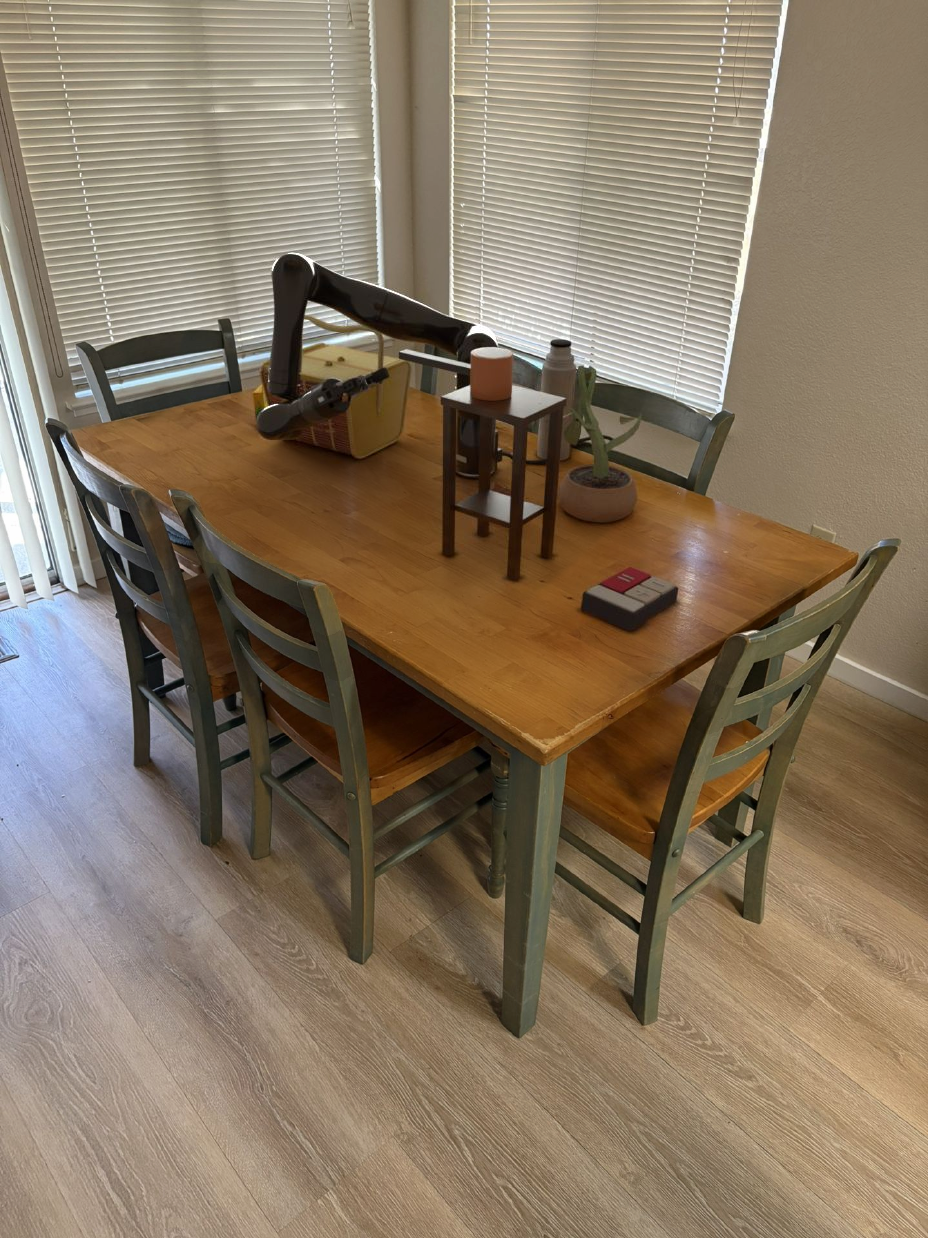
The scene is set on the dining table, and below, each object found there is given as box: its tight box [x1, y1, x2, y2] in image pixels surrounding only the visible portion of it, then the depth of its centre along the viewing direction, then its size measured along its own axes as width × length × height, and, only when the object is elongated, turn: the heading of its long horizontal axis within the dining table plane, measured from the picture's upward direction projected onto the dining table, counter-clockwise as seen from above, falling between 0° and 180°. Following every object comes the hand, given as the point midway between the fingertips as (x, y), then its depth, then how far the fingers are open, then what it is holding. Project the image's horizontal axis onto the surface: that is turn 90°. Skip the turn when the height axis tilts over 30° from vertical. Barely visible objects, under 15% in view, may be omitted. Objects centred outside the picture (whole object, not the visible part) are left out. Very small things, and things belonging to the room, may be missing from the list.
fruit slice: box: [490, 480, 511, 497], centre depth 203 cm, size 8×7×5 cm
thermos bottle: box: [536, 338, 577, 461], centre depth 224 cm, size 8×8×28 cm
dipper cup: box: [398, 347, 514, 401], centre depth 172 cm, size 25×8×8 cm, turn 53°
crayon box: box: [252, 383, 268, 421], centre depth 243 cm, size 7×3×12 cm, turn 172°
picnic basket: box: [258, 314, 413, 460], centre depth 229 cm, size 29×26×30 cm
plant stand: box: [440, 384, 567, 582], centre depth 176 cm, size 18×14×32 cm
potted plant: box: [545, 365, 642, 524], centre depth 198 cm, size 22×18×30 cm
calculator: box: [580, 566, 679, 633], centre depth 168 cm, size 11×4×15 cm
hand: (372, 376), depth 186 cm, fingers open, 8 cm apart
